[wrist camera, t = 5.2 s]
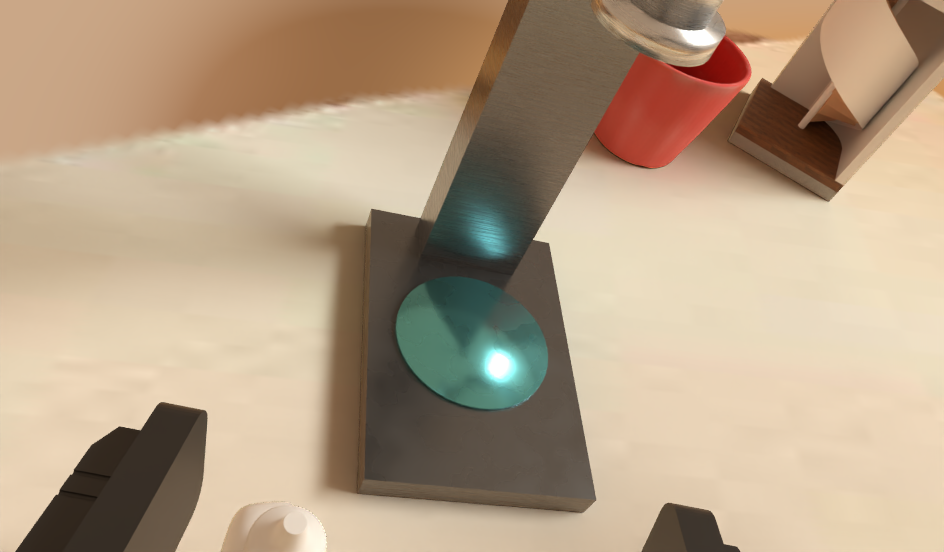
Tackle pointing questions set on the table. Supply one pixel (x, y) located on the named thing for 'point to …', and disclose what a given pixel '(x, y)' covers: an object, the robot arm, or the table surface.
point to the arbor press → (500, 266)
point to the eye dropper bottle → (274, 529)
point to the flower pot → (670, 105)
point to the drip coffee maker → (844, 90)
